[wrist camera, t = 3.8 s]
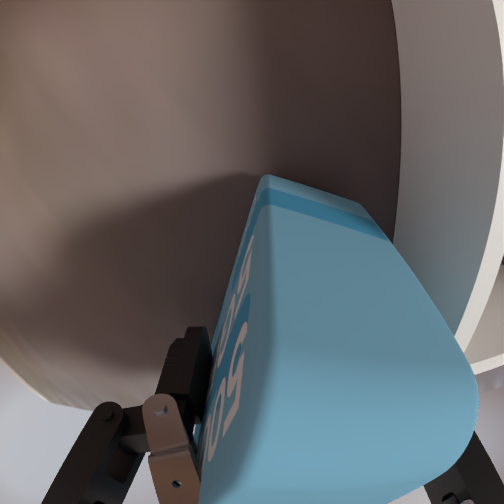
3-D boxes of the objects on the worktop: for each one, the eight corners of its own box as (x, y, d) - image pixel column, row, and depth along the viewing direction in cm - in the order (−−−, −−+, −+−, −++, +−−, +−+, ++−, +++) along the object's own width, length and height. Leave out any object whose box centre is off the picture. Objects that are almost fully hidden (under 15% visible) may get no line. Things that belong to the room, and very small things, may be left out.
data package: (263, 164, 13) (257, 451, 2) (355, 194, 13) (506, 429, 3) (209, 348, 19) (178, 530, 8) (276, 362, 19) (277, 539, 9)
